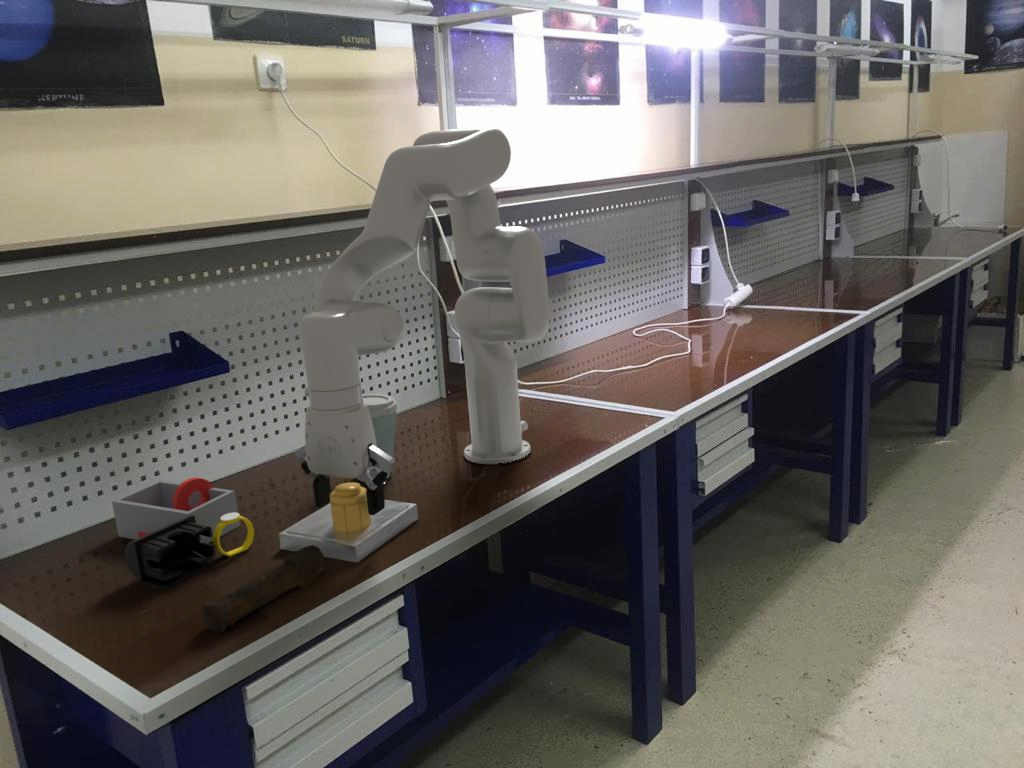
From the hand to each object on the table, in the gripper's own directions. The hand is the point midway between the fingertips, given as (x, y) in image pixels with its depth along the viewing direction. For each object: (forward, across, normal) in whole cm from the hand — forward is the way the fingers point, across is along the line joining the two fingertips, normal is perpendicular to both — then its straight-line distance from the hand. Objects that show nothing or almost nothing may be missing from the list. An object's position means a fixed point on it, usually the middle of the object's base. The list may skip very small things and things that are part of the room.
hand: (350, 507), depth 129 cm
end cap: (+6, -19, -17) cm, 26 cm away
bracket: (+5, -30, -6) cm, 31 cm away
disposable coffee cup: (+5, -13, +24) cm, 28 cm away
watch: (+6, -15, -9) cm, 18 cm away
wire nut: (+3, 0, 0) cm, 3 cm away
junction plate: (+5, -2, +2) cm, 6 cm away
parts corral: (+5, -30, -6) cm, 31 cm away
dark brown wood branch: (+6, 0, -18) cm, 19 cm away
